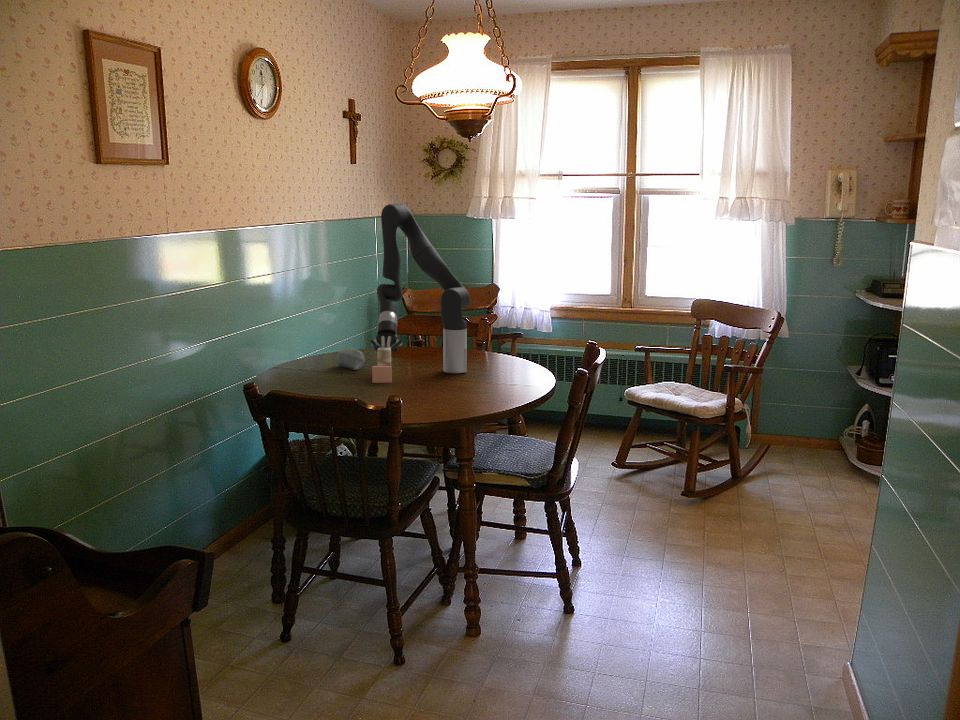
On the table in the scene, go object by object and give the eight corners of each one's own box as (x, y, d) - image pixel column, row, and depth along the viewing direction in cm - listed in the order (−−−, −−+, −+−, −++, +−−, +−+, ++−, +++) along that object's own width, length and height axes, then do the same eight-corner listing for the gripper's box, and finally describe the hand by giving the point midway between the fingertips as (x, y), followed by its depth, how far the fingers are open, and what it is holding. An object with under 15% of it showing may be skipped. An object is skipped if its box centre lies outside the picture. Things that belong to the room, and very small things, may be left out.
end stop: (391, 381, 288) (391, 366, 286) (391, 382, 286) (391, 366, 285) (372, 381, 287) (372, 366, 286) (372, 382, 286) (372, 366, 285)
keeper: (391, 374, 298) (390, 347, 296) (390, 376, 294) (389, 349, 292) (378, 374, 298) (378, 347, 296) (377, 376, 294) (377, 349, 292)
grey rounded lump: (327, 359, 311) (339, 337, 310) (345, 366, 318) (357, 345, 317) (342, 373, 301) (355, 351, 301) (360, 380, 308) (373, 359, 307)
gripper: (370, 319, 304) (366, 356, 294) (403, 319, 304) (401, 356, 294) (371, 330, 310) (368, 366, 300) (404, 330, 310) (402, 366, 301)
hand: (385, 361), depth 297 cm, fingers closed
